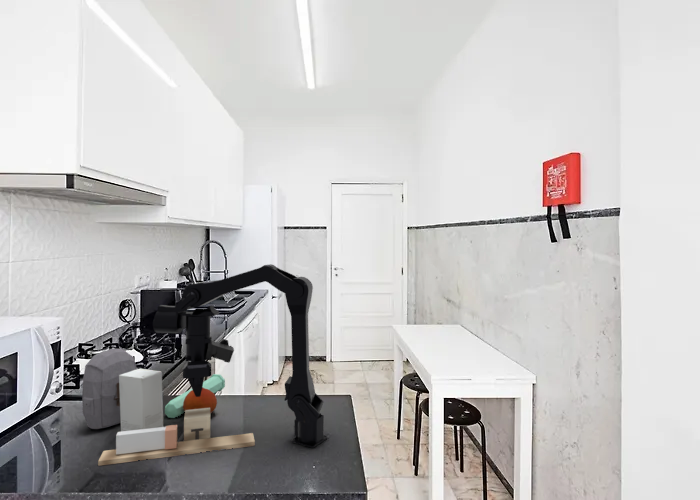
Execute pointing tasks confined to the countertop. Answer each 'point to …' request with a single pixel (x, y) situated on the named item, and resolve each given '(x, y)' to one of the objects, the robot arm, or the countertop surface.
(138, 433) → the white and pink block
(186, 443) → the plank
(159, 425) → the skincare box
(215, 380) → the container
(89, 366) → the soft grey pack
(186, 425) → the wooden block
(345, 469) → the countertop surface
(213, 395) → the fruit
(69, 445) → the countertop surface
